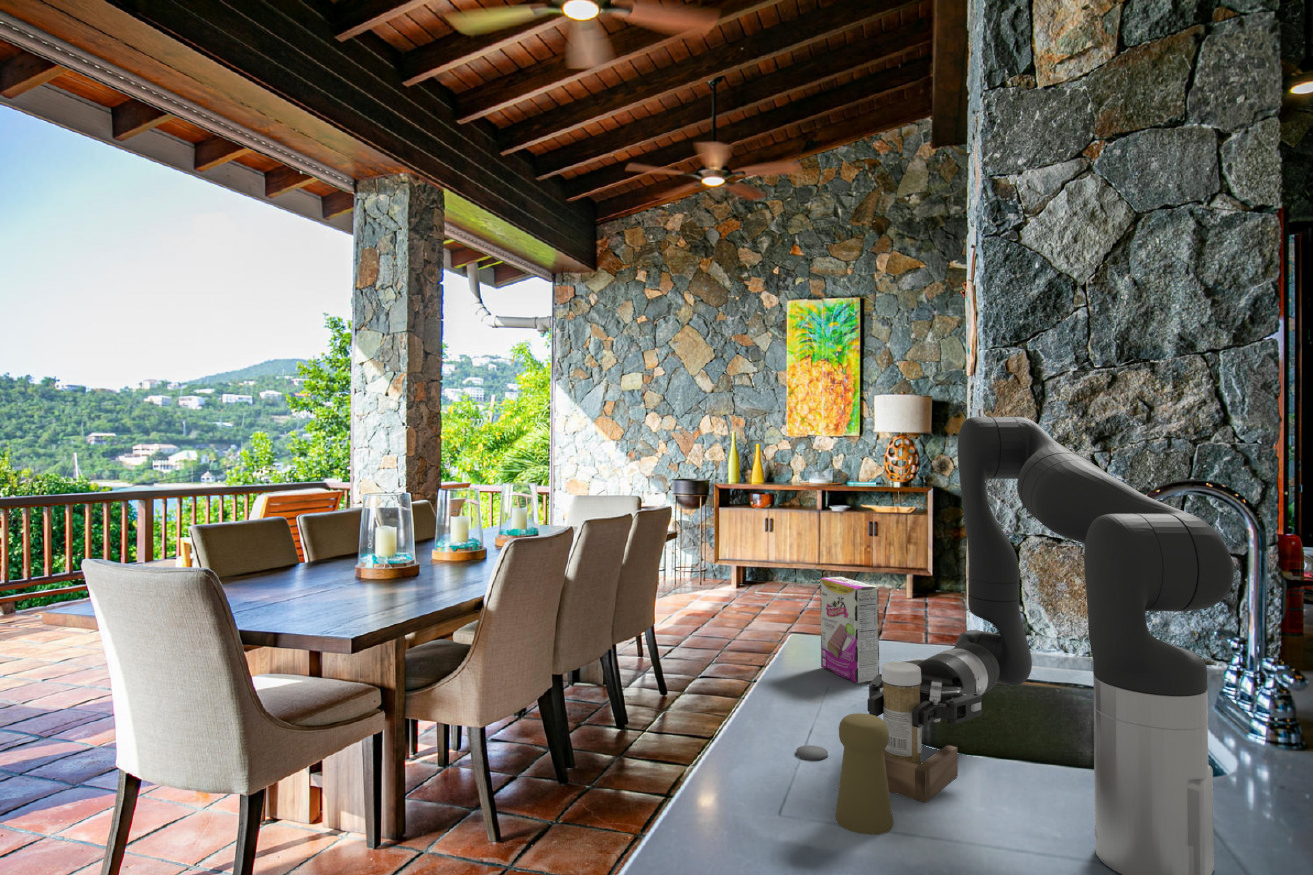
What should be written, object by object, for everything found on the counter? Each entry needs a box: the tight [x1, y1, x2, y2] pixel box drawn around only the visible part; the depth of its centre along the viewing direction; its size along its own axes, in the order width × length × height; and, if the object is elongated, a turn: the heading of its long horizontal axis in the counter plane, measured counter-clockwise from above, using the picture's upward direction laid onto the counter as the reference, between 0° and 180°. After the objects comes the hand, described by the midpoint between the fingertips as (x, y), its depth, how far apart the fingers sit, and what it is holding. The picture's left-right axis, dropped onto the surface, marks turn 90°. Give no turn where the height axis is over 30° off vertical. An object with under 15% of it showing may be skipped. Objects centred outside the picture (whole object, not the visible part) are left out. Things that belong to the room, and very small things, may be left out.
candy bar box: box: [819, 576, 880, 685], centre depth 137 cm, size 11×5×16 cm, turn 22°
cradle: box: [883, 744, 959, 803], centre depth 94 cm, size 9×9×4 cm
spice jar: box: [881, 661, 923, 765], centre depth 94 cm, size 5×5×14 cm
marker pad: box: [795, 744, 829, 761], centre depth 101 cm, size 4×4×1 cm
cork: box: [834, 712, 895, 836], centre depth 83 cm, size 6×6×11 cm
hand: (893, 713), depth 92 cm, fingers open, 5 cm apart
